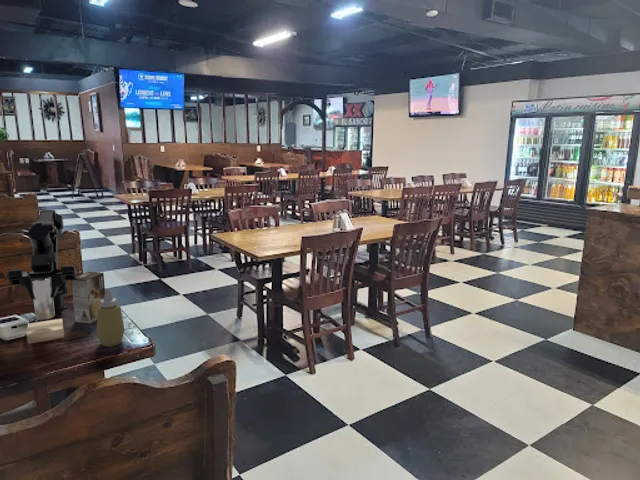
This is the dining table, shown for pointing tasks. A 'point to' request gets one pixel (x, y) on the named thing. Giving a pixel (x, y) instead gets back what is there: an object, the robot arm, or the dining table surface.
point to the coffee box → (87, 296)
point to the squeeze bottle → (109, 321)
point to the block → (45, 331)
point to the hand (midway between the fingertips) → (42, 298)
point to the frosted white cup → (43, 298)
